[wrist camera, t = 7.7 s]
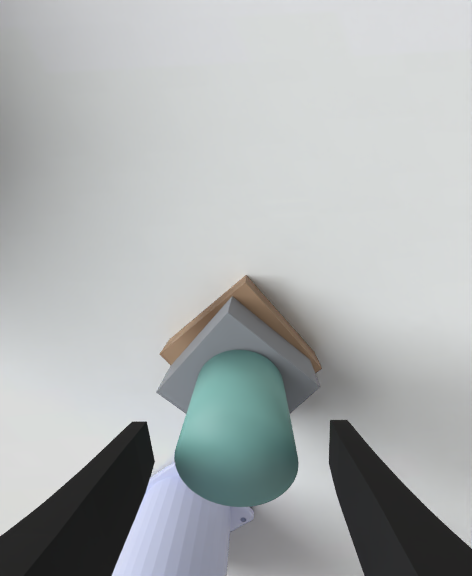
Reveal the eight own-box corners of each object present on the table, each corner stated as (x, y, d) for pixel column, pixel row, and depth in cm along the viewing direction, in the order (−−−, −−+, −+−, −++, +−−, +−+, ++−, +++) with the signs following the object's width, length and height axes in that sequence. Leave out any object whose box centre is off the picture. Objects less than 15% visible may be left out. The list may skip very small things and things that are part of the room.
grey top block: (244, 419, 17) (242, 454, 14) (170, 365, 16) (156, 392, 13) (309, 359, 15) (320, 386, 13) (232, 296, 14) (227, 312, 12)
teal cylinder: (236, 435, 14) (230, 522, 10) (179, 382, 13) (149, 455, 9) (301, 393, 13) (323, 472, 9) (244, 332, 12) (241, 392, 8)
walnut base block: (236, 401, 19) (234, 427, 17) (171, 336, 18) (159, 354, 16) (312, 348, 18) (322, 368, 15) (246, 273, 16) (245, 282, 14)
